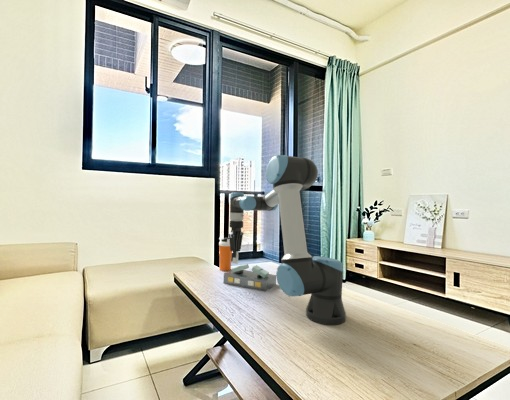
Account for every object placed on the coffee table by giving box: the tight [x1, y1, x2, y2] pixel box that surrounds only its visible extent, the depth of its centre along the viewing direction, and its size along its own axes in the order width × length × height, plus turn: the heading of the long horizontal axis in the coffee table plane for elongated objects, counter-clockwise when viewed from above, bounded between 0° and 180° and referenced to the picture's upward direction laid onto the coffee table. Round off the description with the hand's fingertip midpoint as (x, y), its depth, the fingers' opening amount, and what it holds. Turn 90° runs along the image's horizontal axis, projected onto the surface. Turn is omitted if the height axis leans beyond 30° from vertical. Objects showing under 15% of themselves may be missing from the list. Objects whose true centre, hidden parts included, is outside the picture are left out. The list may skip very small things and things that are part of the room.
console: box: [223, 269, 277, 292], centre depth 149 cm, size 13×25×6 cm, turn 64°
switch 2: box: [251, 264, 270, 278], centre depth 146 cm, size 5×8×2 cm, turn 64°
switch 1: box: [231, 263, 250, 272], centre depth 151 cm, size 5×8×2 cm, turn 64°
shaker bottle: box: [218, 237, 233, 272], centre depth 177 cm, size 9×9×20 cm
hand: (235, 263), depth 153 cm, fingers closed
